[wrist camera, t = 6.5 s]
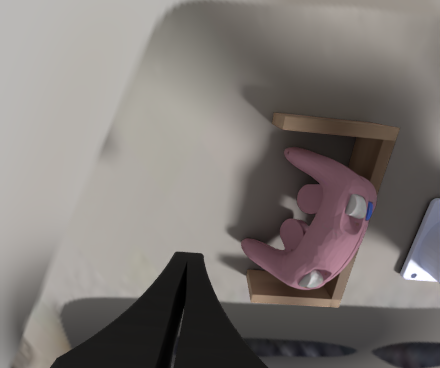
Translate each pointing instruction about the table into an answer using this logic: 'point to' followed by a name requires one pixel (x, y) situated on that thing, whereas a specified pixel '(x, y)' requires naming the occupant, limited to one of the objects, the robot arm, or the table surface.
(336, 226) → the video game controller
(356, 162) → the docking cradle
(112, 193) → the table surface
